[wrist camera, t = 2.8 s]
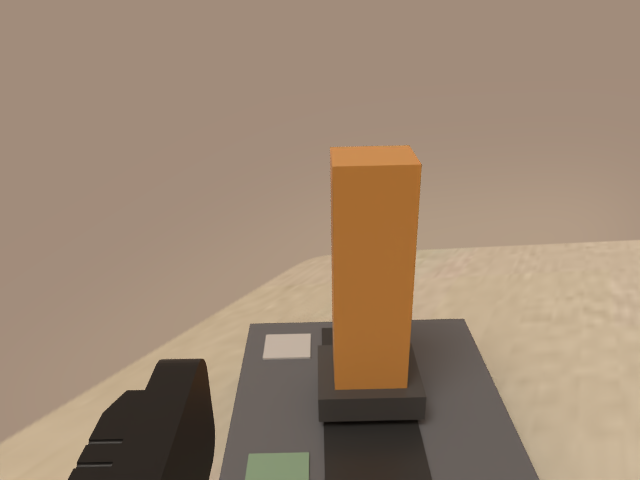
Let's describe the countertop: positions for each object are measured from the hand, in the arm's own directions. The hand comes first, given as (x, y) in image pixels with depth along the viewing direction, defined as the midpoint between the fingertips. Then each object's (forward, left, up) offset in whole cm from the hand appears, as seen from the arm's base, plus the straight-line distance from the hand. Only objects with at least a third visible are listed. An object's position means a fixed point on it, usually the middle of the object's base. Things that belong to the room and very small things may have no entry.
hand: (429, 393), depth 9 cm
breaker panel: (0, -11, -13) cm, 17 cm away
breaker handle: (0, -11, -9) cm, 14 cm away
